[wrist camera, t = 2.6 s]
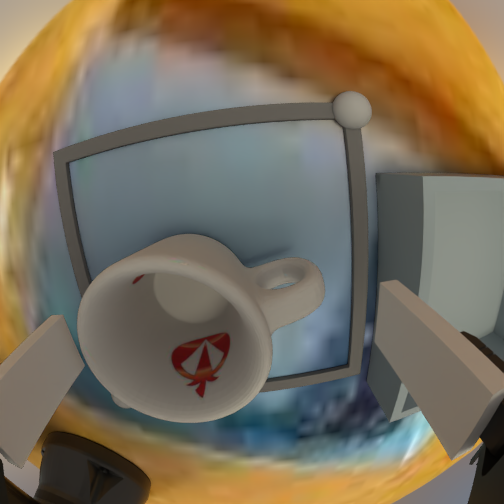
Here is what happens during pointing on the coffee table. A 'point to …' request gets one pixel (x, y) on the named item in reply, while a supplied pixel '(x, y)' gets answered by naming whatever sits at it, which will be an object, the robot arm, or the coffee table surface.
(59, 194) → the square tray frame
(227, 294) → the cup
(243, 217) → the coffee table surface
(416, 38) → the coffee table surface
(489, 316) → the bin
